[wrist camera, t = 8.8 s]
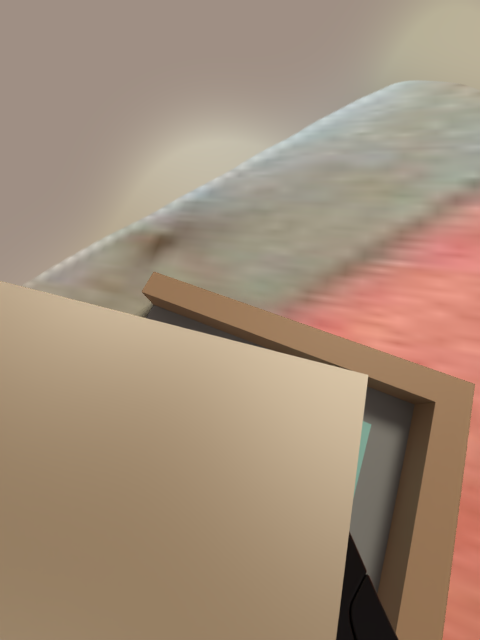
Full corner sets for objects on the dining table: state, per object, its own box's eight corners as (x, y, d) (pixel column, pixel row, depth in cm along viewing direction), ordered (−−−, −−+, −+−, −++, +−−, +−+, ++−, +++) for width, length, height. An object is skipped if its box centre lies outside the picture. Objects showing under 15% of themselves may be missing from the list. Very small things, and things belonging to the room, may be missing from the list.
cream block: (263, 519, 13) (228, 1520, 1) (171, 484, 14) (-381, 826, 2) (285, 416, 15) (369, 375, 3) (202, 391, 16) (-3, 280, 4)
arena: (370, 806, 13) (404, 930, 10) (19, 554, 18) (-34, 582, 15) (440, 390, 20) (474, 384, 17) (168, 291, 25) (153, 271, 22)
